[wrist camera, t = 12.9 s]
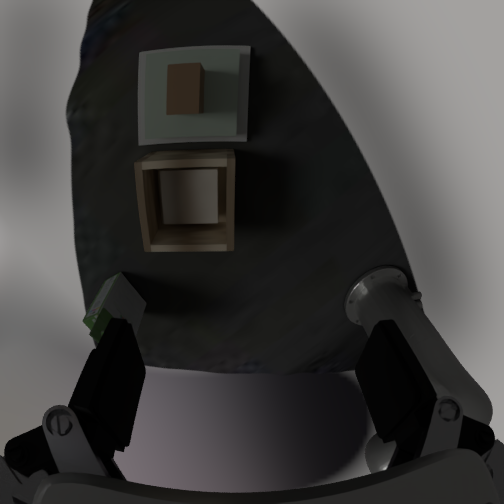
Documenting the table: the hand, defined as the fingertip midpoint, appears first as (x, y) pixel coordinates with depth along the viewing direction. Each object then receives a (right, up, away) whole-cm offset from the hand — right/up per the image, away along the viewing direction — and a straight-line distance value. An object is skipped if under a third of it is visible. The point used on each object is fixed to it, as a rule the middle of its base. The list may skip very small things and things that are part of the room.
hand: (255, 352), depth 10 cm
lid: (-7, +21, +16) cm, 28 cm away
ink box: (-20, -2, +30) cm, 36 cm away
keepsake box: (-8, +12, +23) cm, 27 cm away
